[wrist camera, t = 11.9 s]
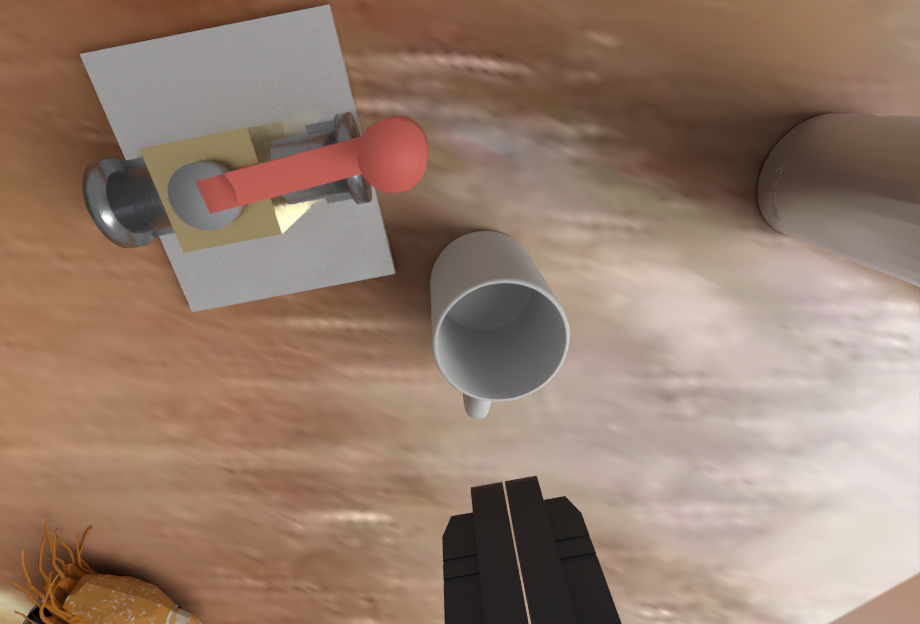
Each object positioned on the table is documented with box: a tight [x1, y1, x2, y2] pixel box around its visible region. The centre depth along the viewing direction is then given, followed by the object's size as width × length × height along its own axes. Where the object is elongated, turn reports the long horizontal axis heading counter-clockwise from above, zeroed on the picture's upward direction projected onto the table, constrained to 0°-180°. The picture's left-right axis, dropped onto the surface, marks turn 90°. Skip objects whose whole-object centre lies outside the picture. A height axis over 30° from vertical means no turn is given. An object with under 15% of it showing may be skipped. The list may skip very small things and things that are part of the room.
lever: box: [168, 116, 427, 231], centre depth 25 cm, size 14×4×7 cm, turn 104°
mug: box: [430, 231, 570, 419], centre depth 36 cm, size 12×8×11 cm
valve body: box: [80, 5, 396, 312], centre depth 32 cm, size 16×18×8 cm
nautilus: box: [11, 519, 201, 624], centre depth 47 cm, size 8×22×15 cm
